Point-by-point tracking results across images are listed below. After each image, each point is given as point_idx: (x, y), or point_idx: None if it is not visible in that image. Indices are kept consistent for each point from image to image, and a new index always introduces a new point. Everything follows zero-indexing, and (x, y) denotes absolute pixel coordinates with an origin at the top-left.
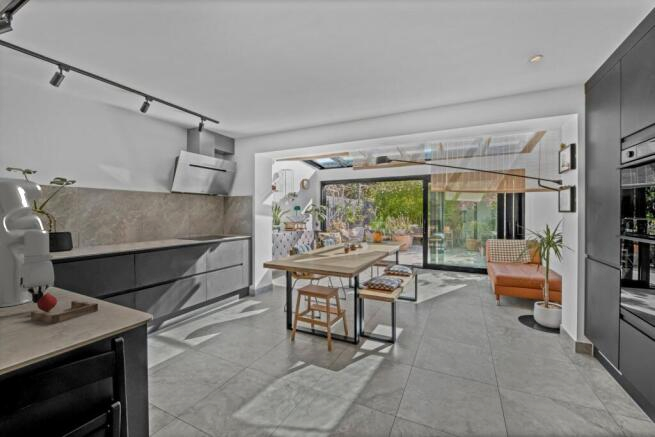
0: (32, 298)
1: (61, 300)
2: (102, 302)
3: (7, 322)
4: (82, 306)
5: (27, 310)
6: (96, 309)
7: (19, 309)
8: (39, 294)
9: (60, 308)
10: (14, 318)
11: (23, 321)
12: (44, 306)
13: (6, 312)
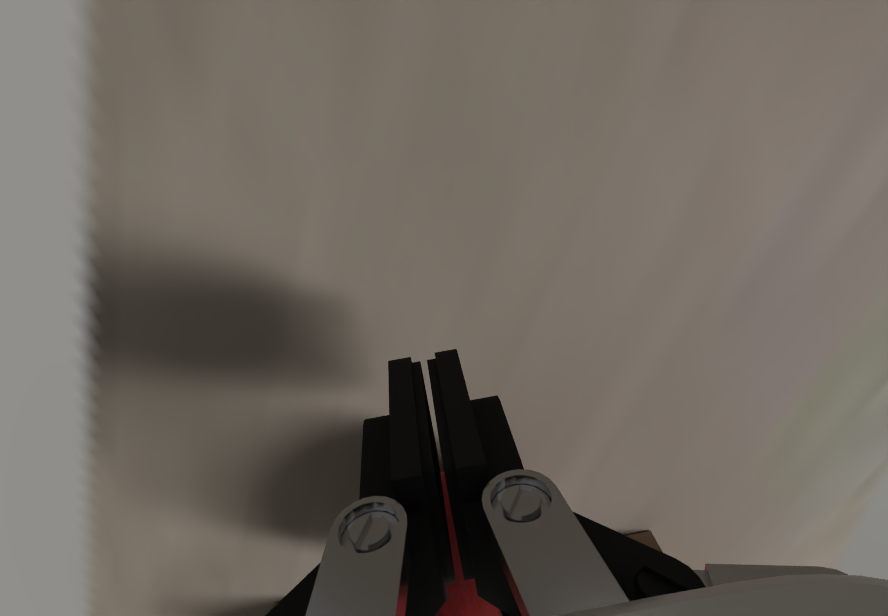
0: (365, 452)
1: (853, 26)
2: (835, 555)
3: (103, 547)
4: None
5: (341, 221)
6: None
7: (279, 18)
8: (449, 578)
9: (573, 461)
10: (167, 466)
11: (218, 611)
12: None
13: (98, 35)
